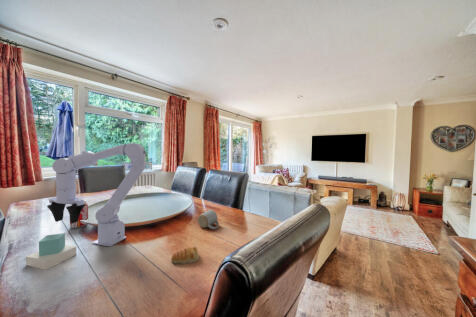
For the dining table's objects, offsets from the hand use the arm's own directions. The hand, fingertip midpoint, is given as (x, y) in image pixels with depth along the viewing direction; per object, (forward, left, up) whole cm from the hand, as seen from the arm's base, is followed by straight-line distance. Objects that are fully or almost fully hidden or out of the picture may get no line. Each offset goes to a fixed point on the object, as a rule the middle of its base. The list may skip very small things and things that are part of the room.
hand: (66, 221), depth 73 cm
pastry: (-51, -5, -10) cm, 52 cm away
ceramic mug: (-48, -34, -10) cm, 60 cm away
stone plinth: (-6, +8, -10) cm, 14 cm away
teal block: (-6, +8, -7) cm, 12 cm away
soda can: (+16, -16, -10) cm, 25 cm away
